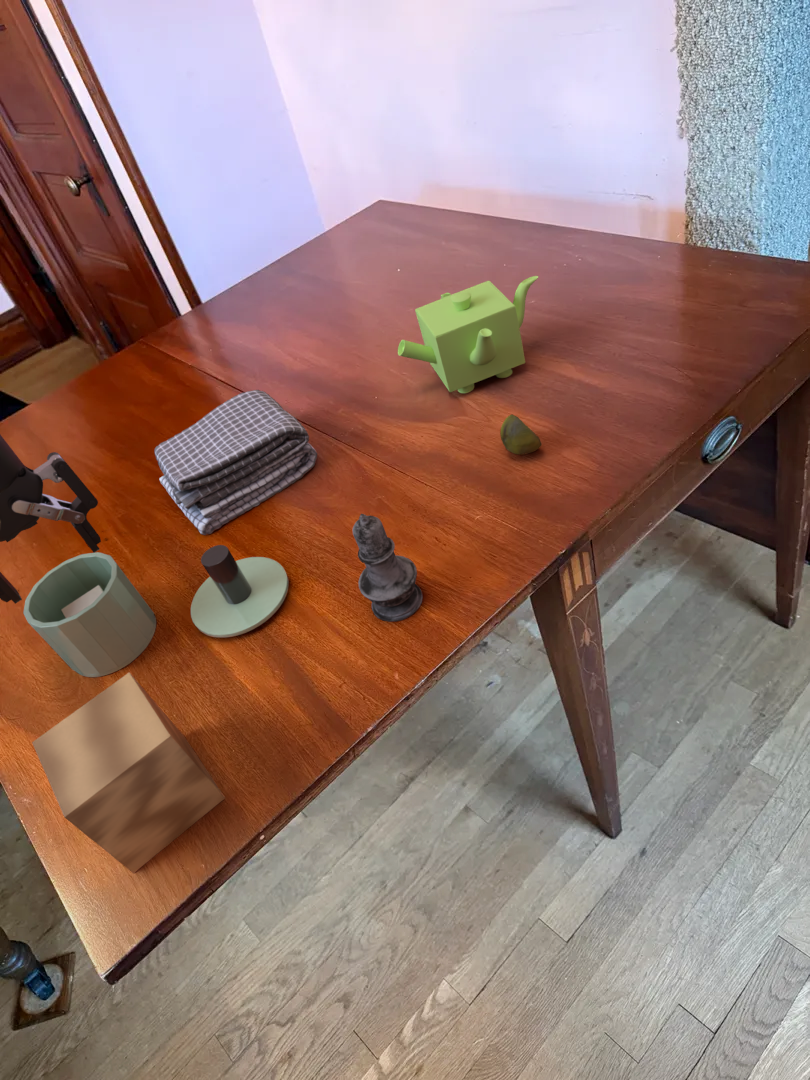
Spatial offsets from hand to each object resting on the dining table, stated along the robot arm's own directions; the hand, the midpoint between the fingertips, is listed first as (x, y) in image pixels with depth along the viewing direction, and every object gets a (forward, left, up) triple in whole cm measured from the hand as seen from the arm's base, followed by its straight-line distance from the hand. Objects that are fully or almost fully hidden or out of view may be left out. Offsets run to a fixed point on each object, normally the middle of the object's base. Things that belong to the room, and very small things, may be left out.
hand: (56, 572), depth 74 cm
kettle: (+57, +2, -11) cm, 58 cm away
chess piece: (+24, -21, -11) cm, 34 cm away
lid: (+13, -7, -10) cm, 18 cm away
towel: (+24, +13, -11) cm, 29 cm away
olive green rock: (+48, -15, -11) cm, 52 cm away
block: (0, 0, -10) cm, 10 cm away
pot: (0, 0, -11) cm, 11 cm away
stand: (-4, -22, -11) cm, 25 cm away
